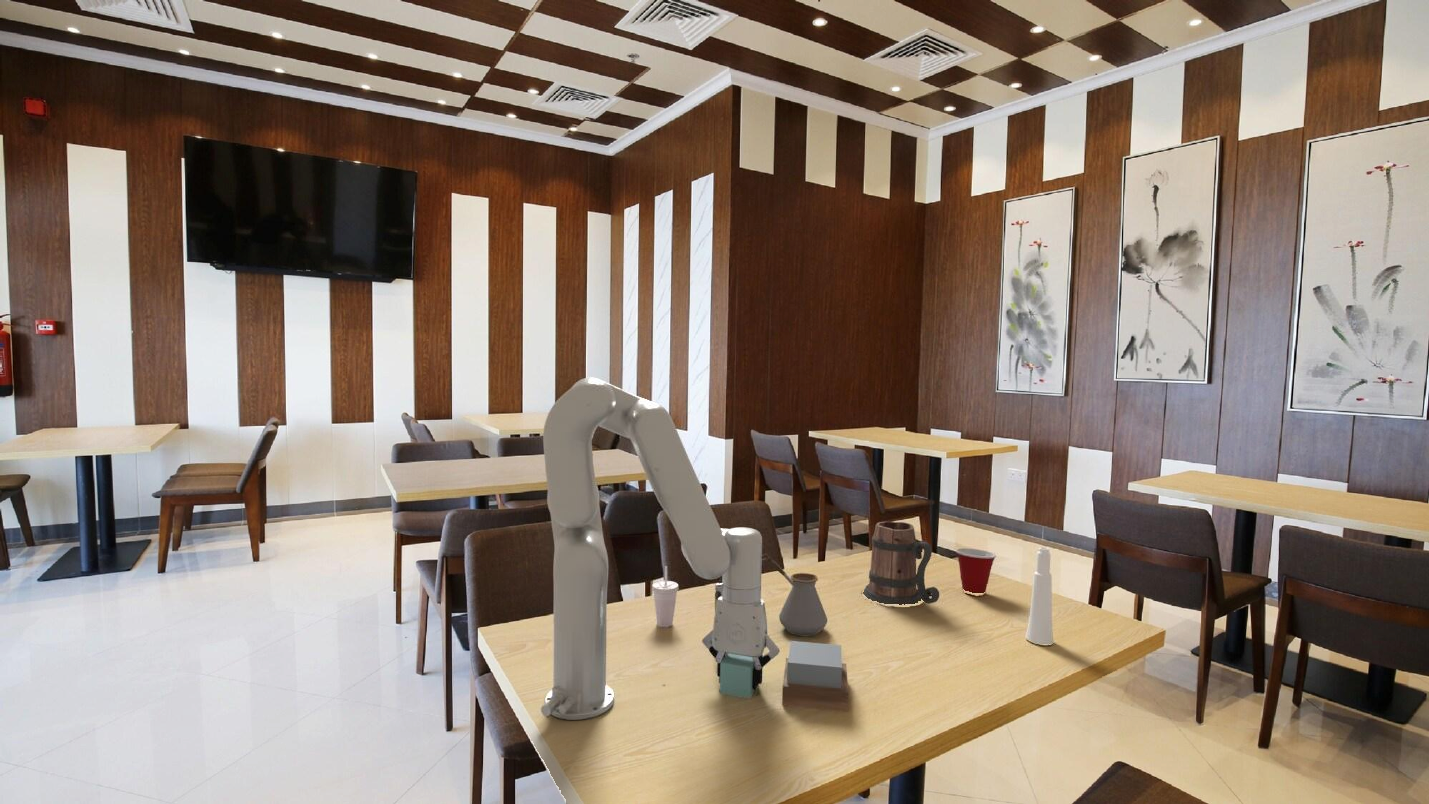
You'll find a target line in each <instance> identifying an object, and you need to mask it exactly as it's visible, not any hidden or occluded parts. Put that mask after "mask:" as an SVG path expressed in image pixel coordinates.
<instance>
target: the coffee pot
mask: <svg viewBox="0 0 1429 804" xmlns="http://www.w3.org/2000/svg"><path fill="white" fill-rule="evenodd" d="M763 556H764V557H765V558H762V561H765V560H767V562H769V563H770V564H771V565H772V567H773V568H774V569H775V570H776V571H778V572H779V573H780V574H781V575H782V577H784V578H785V579H786V581H788V583H790V585H791V586H792V587H791V590H790V592H789V593H788V596H787V598H786V600H785V602H784V604H783V606H782V609H781V610H780V613H779V615H778V619H779V622H780V624H781V625H782V626H783V628H784V629H786V631H787V632H788V633H790V634H792V635H794V636H799V637H813V636H817V634H819V632H821V631H822V630H824V628H825V627H826V626H827V623H828V618H827V613H826V611H825V610H824V607H823V604H822V601H821V599H820V597H819V593H818V591H817V589H816V584H817V581H818V580H819V578H818V576H817V575H816V574H813V573H806V572H798V573H794V574H792V575H791V576H789V575H788V574H787V573H786V572H785V571H784V569H783V568H782V567H781V566H780V565H779V563H778V562H776V561H775V560H773V557H771V556H770V555H769V554H768V553H766V552H765V553H764V554H763V553H762V557H763Z"/></svg>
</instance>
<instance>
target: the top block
mask: <svg viewBox="0 0 1429 804" xmlns="http://www.w3.org/2000/svg"><path fill="white" fill-rule="evenodd" d="M842 663H843V662H842V645H841V644H831V643H820V642H808V641H796V640H790V643H789V651H788V666H787V683H790V684H800V685H810V686H819V687H829V688H839V689H841V679H842Z"/></svg>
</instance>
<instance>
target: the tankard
mask: <svg viewBox="0 0 1429 804" xmlns="http://www.w3.org/2000/svg"><path fill="white" fill-rule="evenodd" d="M871 545H872V548H871V559H870V569H869V571H868V573H869V574H868V579H869V582H868V584H867V585H866V586H865V587H864V589H863V590H864V592H863V594H864V595H865V596H866V597H867V598H868V599H871V600H872V601H877V602H879V603H884V604H899V605H902V604H904V605H905V604H915V603H918V601H921V599H922V600H923V601H924V602H923V603H924V604H928V605H929V604H933V603H936V602H938V600H939V599H940V591H939V589H938V588H937V587H936V586H931V587H927V588H926V584H925V573H926V568H927V567H928V566H927V565H928V564H929V562H930V560H931V558H932V553H933V550H932V546H931V545H930V543H928V541H918V540H917V539H916V533H915V527H914V525H912V524H911V523H908V522H903V521H902V522H901V521H898V522H897V521H879V522H877V523H876V524H875V528H874V532H873V535H872V537H871ZM922 553H923V554H922ZM917 560H920V563H919V565H918V567H917Z"/></svg>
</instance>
